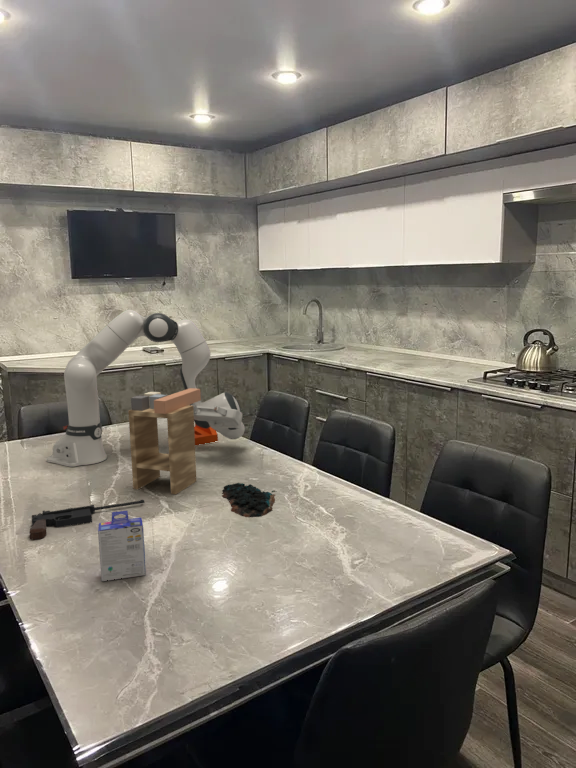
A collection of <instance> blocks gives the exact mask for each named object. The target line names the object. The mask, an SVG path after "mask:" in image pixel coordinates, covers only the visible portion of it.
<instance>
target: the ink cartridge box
mask: <svg viewBox="0 0 576 768" xmlns="http://www.w3.org/2000/svg"><path fill="white" fill-rule="evenodd" d="M119 515H122V516H125V517H120V518H119V517H118V518H115V517H116V516H119ZM144 532H145V531H144V522H143V518H142V517H134V518H129V511H128V510H123V511H122V510H121V511H112V512H111V521H104V522H103V521H102V522H99V523H98V528H97V535H98V549H99V560H100V561H99V563H100V564H99V565H100V575H101V578H100V579H101V581H100V582H108V581H113V580H114V579H115V580H120V579H121V578H122V579H127V578H134V577H140V576H146V550H145V548H146V547H145V534H144ZM107 580H108V581H107Z"/></svg>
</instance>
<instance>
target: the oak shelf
mask: <svg viewBox="0 0 576 768" xmlns="http://www.w3.org/2000/svg"><path fill="white" fill-rule="evenodd" d="M127 412H128V426H129V427H128V428H129V443H130V445H129V446H130V458H131V459H130V461H131V473H132V474H131V475H132V476H131V477H132V489H133V490H137V489H138V490H139V488H140V489H142V488H144V487H145V486H147V485H149V484H150V483H153V482H154V481H156V480H158V479H160V478H161V471H163V472H169V479H170V481H169V482H170V494H171V495H178V494H180V493H181V492H182V491H184V490H186V489H187V488H188V487H190V486H192V485H194V484H195V483H197V464H196V463H197V459H196V446H195V433H194V427H195V422H194V410H193V406H192V405H187V406H185V407H182V408H180V409H177V410H174V411H172V412H169V413H167V414H160V413H154V409H150V406H149V409H146V410H143V411H137V410H132V409H129V410H128V411H127ZM159 418H160V419H167V420H166V422H167V424H166V425H167V441H168V453H162V452H160V449H159V448H160V445H159V431H158V430H159V428H158V419H159ZM159 477H160V478H159ZM141 487H142V488H141Z"/></svg>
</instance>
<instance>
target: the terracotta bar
mask: <svg viewBox="0 0 576 768" xmlns="http://www.w3.org/2000/svg"><path fill="white" fill-rule="evenodd" d="M201 394H202V393H201V388H197V389H195V388H189V389H186V390H185V389H184V390H181V391H177V392H174V393H172V394H169V395H167V396H165V397H162V398H159V399H156V400H154V413H160V414H167V413H169V412H172V411H174V410H177V409H180V408H182V407H185V406H187V405H190V404H193V403H195V402H198V401H200V400H201V401H202V399H201V396H202V395H201Z"/></svg>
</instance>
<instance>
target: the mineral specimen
mask: <svg viewBox="0 0 576 768" xmlns="http://www.w3.org/2000/svg"><path fill="white" fill-rule="evenodd" d="M221 492H222V493H221V497H222V498H223V499H225V500H227V501H228V503H229V505H230V507H231V509H230V512H231V513H235V514H236V515H239V516H240V517H243V518H244V517H245V518H261V517H264V516H266V515H268V514H270V513H272V511H273V505H274V504H275V503H276V502H275V501H276V498H275V496H276V494H275V492H276V493H277V491H276V490H271V492H269V491H262V490H261V489H260V488H258V487H257V486H255V485H253V484H248V485H246V484H245V483H241V482H237V483H233V484H227V485H225V486H223V489H222V490H221ZM273 493H274V494H273Z"/></svg>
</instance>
